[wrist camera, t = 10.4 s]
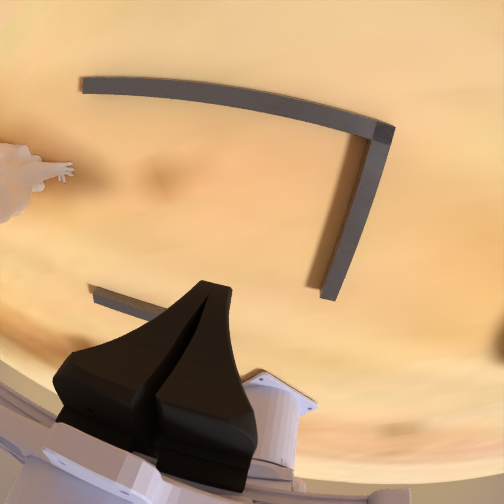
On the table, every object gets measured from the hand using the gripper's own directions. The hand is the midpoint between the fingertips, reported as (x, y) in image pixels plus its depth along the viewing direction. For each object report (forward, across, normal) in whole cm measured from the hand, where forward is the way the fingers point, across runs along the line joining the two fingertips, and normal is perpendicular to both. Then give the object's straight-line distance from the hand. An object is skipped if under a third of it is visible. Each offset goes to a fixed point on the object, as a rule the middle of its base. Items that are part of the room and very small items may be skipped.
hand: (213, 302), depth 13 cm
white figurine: (+10, +21, +1) cm, 24 cm away
